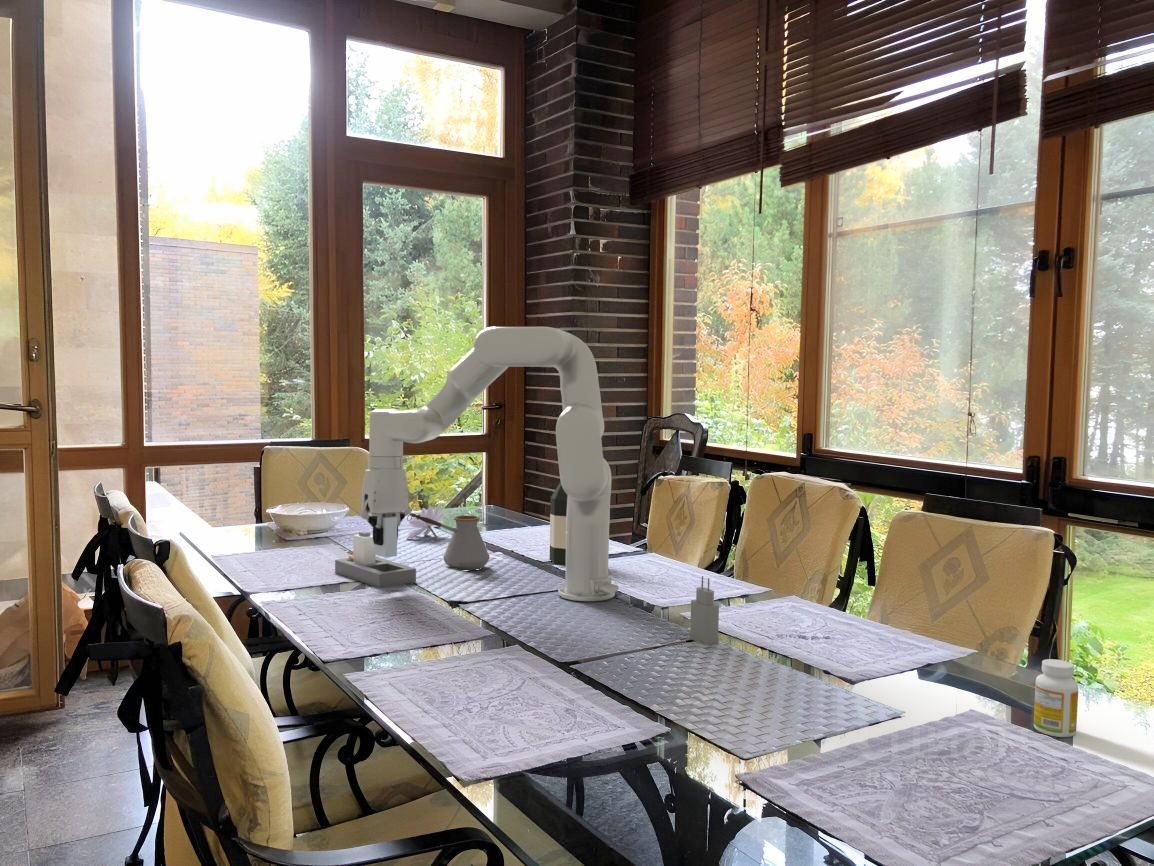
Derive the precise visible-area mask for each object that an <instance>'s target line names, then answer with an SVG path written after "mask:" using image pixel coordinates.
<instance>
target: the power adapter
mask: <svg viewBox="0 0 1154 866" xmlns="http://www.w3.org/2000/svg"><path fill="white" fill-rule="evenodd" d="M695 591H696V593H695V594H696V596H695V597H696V599H692V600H690V623H689V625H690V628H689V639H690V640H692V641H694V642H696V643H699V644H701V645H704V646H712V645H713V646H714V645H717V644H719V620H720V619H719V618H720V617H719V616H720V615H719V614H720V604H719V603H716V602H715V590H713V589H710V577H708V578H707V587H704V576H703V575H701V585H700V587H699V586H698V587H696V590H695Z"/></svg>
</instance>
